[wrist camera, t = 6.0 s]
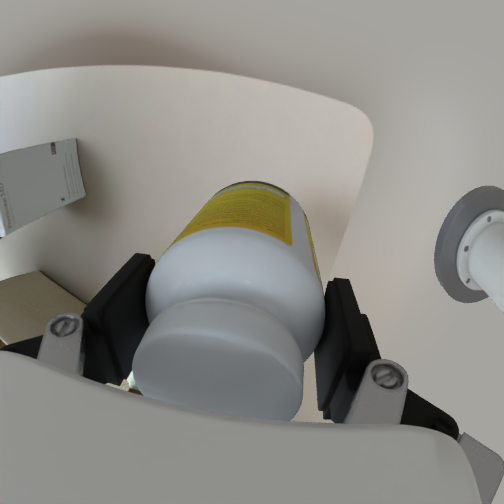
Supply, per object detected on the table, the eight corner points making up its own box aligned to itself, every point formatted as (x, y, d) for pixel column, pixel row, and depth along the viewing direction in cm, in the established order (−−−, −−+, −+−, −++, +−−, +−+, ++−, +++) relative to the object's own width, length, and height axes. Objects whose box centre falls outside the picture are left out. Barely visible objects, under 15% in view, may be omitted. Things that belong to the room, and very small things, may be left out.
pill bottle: (183, 202, 17) (60, 323, 7) (287, 161, 16) (291, 251, 5) (228, 291, 19) (177, 451, 9) (323, 262, 18) (355, 433, 7)
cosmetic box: (87, 195, 34) (9, 241, 21) (57, 202, 35) (-17, 245, 21) (76, 134, 30) (-12, 156, 17) (45, 145, 31) (-36, 171, 18)
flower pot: (115, 306, 41) (60, 385, 26) (96, 367, 49) (59, 431, 34) (27, 244, 38) (-41, 297, 23) (24, 315, 46) (-22, 367, 31)
